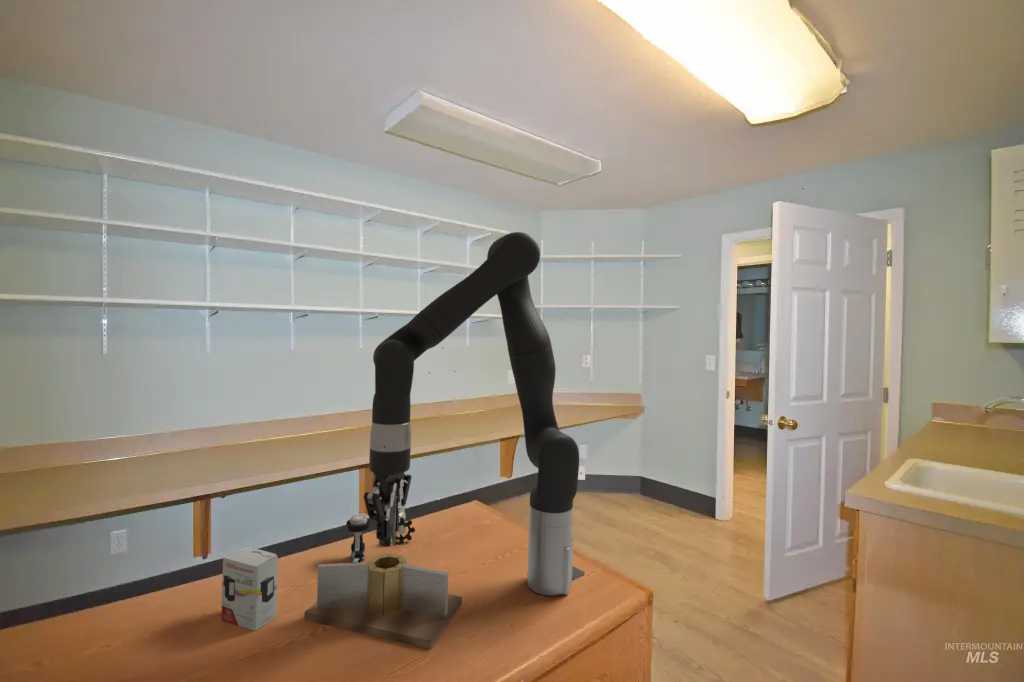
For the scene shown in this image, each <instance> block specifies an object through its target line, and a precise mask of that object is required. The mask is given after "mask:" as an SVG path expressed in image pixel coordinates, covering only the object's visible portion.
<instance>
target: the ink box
mask: <svg viewBox="0 0 1024 682" xmlns="http://www.w3.org/2000/svg"><path fill="white" fill-rule="evenodd" d="M278 561H279V560H278V555H277V554H276V553H274V552H271V551H270V552H269V551H265V550H262V549H259V548H258V549H257V548H254V547H251V546H244V547H242V548H240V549H238V550H236V551H234V552H232V553H229V554H227V555H226V556H224V557H222V581H221V583H222V585H221V586H222V587H221V588H222V589H221V590H222V591H221V615H220V616H221V621H224V622H226V623H228V624H232V625H236V626H239V627H241V628H245V629H247V630H250V631H254V632H257V630H260V628H263V626H265V625H266V624H268V623H270V622H271V621H272V620H274V619H275V618H276V617H277V595H278V593H277V591H278Z"/></svg>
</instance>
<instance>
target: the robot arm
mask: <svg viewBox="0 0 1024 682" xmlns="http://www.w3.org/2000/svg"><path fill="white" fill-rule="evenodd" d="M486 256H487V257H486V260H485V261H484V262H482V264H481V265H479V266H478V267H477V268H476V269H475V270H474V271H473V272H471V273H470V274H469V275H468V276H466V277H465V278H463V279H462V280H460V281H459V282H458V283H456V284H455V285H453V286H452V287H450V288H449V289H447V290H446V291H444V292H443V293H442V294H440V295H438V297H436V298H435V299H434V300H433V301H431V302H430V303H429V304H428V305H427V306H425V307H424V308H423V309H422V310H420V311H419V313H417V314H416V315H415V316H414V317H412V319H410V321H409V322H407V323H406V324H404V325H403V326H402V327H400V328H399V329H397V330H396V331H394V332H392V334H390V335H389V336H388V337H386V338H385V339H384V340H383V341H382V342H380V343H379V344H378V345H377V347H376V348H375V350H374V351H373V355H372V357H373V358H372V362H373V365H374V374H375V375H374V388H375V389H374V395H373V399H372V408H371V409H372V410H371V411H372V412H371V413H372V414H371V415H372V417H371V428H370V432H369V458H368V459H369V460H368V461H369V464H368V469H369V471H370V473H373V475H374V481H373V483H372V487H373V488H372V489H371V491H370V492H368V491H366V492H364V494H363V500H364V503H365V504H364V505H365V507H366V511H367V515H368V518H369V519H370V520H372V521H376V531H375V532H376V533H375V534H376V539H377V540H379V539H380V540H387V539H388V538H389V516H390V508H391V507H393V502H394V494H395V491H397V499H396V530H395V534H396V533H398V528H399V512H400V511H401V508H402V507H401V506H406V504H407V500H408V497H409V496H408V495H409V491H410V485H411V483H412V482H411V481H412V475H411V474H407V472H408V471H409V470H410V468H411V448H412V447H411V445H412V443H411V442H412V429H411V392H412V385H413V380H414V379H413V378H414V371H415V369H414V367H415V361H416V360H417V359H418V358H419V357H420V356H422V355H423V354H424V353H425V352H427V350H429V349H433V348H434V347H436V346H437V345H439V344H441V342H443V341H444V340H446V338H447V337H449V336H450V335H451V334H452V333H453V332H454V331H456V329H458V328H459V327H460V326H461V325H462V324H463V323H465V322H466V321H467V319H469V318H470V317H471V316H472V315H474V314H475V313H476V312H477V311H478V310H479V309H480V308H482V307H483V306H484V305H485V304H486V303H487V302H489V301H490V300H491V299H492V298H494V297H495V296H497V300H498V302H499V307H500V312H501V317H502V324H503V328H504V329H503V330H504V335H505V340H506V345H507V351H508V357H509V362H510V366H511V371H512V375H513V379H514V384H515V387H516V393H517V396H518V400H519V404H520V405H519V406H520V409H521V415H522V422H523V430H524V441H525V442H524V443H525V450H526V455H527V457H528V460H529V461H530V463H531V464H532V465H533V466H534V467H535V468H537V482H536V487H534V488H532V490H531V491H530V493H529V494H530V495H529V512H528V513H529V516H528V517H529V519H528V520H529V521H528V546H527V547H528V548H527V570H526V571H527V572H526V576H527V579H526V581H527V582H526V583H527V586H528V588H529V589H530V590H531V591H532V592H534V593H537V594H539V595H544V596H560V595H564V596H566V595H567V596H568V594H569V591H570V589H571V585H572V583H573V561H574V560H573V559H574V558H573V556H574V538H573V514H574V513H573V511H574V507H573V506H574V500H575V497H576V495H577V492H578V483H579V472H580V470H579V469H580V451H579V447H578V445H577V442H576V441H575V439H574V438H572V436H570V435H568V434H565V433H563V432H562V431H561V430H560V428H559V426H558V422H557V418H556V414H555V411H554V410H555V409H554V405H553V404H554V403H553V400H554V399H553V396H554V389H555V388H554V387H555V381H556V362H555V361H556V360H555V358H554V352H553V346H552V342H551V338H550V335H549V332H548V330H547V328H546V325H545V324H544V322H543V320H542V318H541V315H540V314H539V312H538V309H537V308H536V306H535V304H534V301H533V298H532V294H531V289H530V288H531V287H530V282H529V275H531V274H532V273H533V272H534V271H535V270H536V269H537V268H538V265H539V263H540V258H541V250H540V246H539V243H538V242H537V240H536V239H535V238H534V237H533V236H531V235H530V234H529V233H526V232H522V231H515V232H510V233H507V234H505V235H503V236H501V237H499V238H498V239H496V240H494V241H493V242H492V244H491V245H490V246H489V248H488V250H487V254H486ZM381 500H384V501H388V503H386V502H381ZM382 507H384V508H385V512H383V508H382Z"/></svg>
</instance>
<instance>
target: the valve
mask: <svg viewBox="0 0 1024 682" xmlns="http://www.w3.org/2000/svg"><path fill="white" fill-rule="evenodd" d="M405 506H406V505H405ZM405 506H401V507H402V508H401V511H400V512H399V528H398V531H397V534H399V536H398V535H397V534H396V533H395V542H396V541H398V542H399V545H403V544H404V543H405V541H404V540H407V541H411V540H412V539H413V537H412V535H411V533H415V532H416V528H415V527H414V526H412V527H411V525H413V521H412V519H408V520H407V522H406V517H407V515H406V511H405ZM406 528H408V530H407V533H406ZM404 534H405V535H404ZM403 535H404V536H403Z"/></svg>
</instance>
